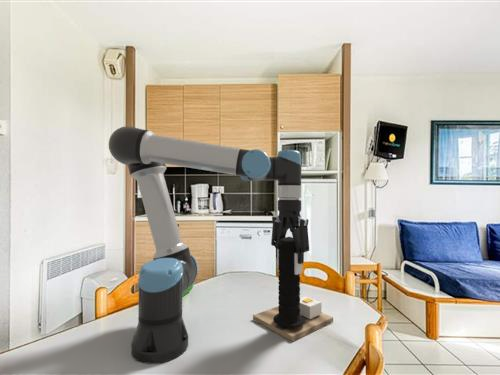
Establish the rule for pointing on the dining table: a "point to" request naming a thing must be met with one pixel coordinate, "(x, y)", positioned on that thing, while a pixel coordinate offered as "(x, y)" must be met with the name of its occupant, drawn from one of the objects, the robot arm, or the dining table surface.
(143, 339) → the robot arm
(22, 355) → the dining table surface
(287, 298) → the handle grip
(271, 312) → the subfloor panel
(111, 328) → the dining table surface
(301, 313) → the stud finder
